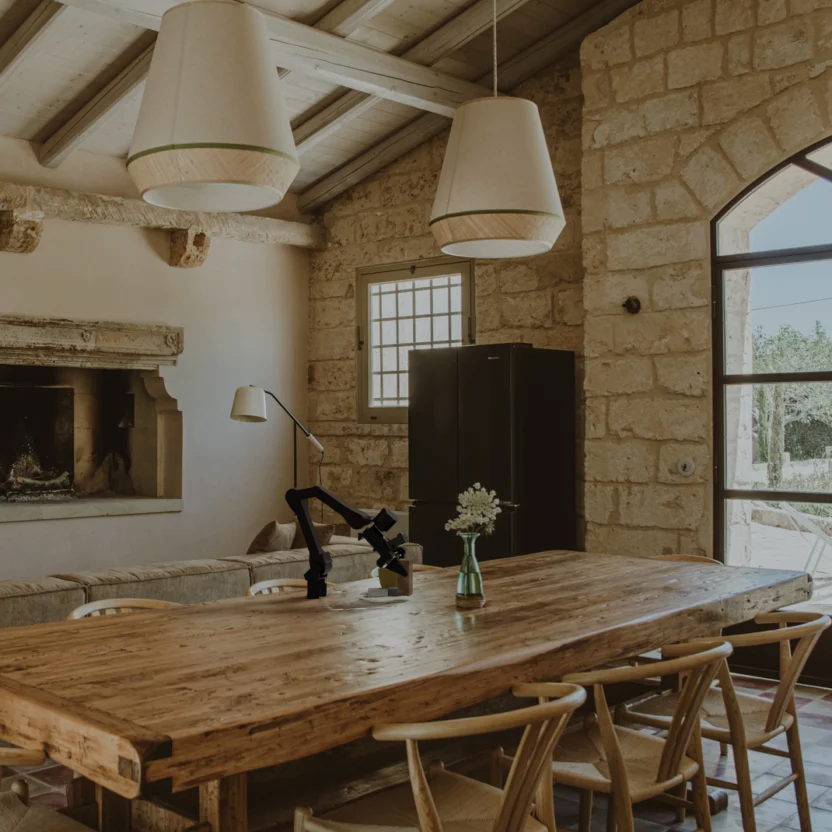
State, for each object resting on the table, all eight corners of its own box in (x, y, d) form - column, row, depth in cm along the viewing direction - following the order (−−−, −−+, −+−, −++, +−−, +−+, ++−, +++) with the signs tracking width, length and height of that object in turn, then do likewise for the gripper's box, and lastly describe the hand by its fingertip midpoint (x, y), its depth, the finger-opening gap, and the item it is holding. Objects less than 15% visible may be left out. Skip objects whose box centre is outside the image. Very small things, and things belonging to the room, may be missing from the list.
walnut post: (397, 595, 340) (397, 560, 340) (401, 593, 344) (400, 558, 344) (409, 596, 339) (409, 560, 339) (412, 594, 343) (412, 559, 343)
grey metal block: (370, 597, 347) (370, 589, 347) (368, 595, 351) (368, 588, 351) (387, 596, 349) (387, 589, 349) (384, 594, 353) (384, 587, 353)
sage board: (370, 603, 337) (370, 602, 337) (367, 596, 353) (367, 594, 353) (411, 603, 339) (411, 601, 339) (407, 595, 354) (407, 593, 354)
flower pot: (396, 595, 354) (396, 570, 354) (377, 593, 359) (377, 568, 359) (411, 592, 361) (411, 567, 361) (392, 590, 366) (392, 565, 366)
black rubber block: (386, 595, 350) (386, 588, 350) (389, 593, 354) (389, 586, 354) (400, 596, 349) (400, 589, 349) (403, 594, 353) (403, 587, 353)
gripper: (385, 527, 334) (417, 562, 330) (402, 522, 352) (432, 555, 348) (363, 550, 336) (394, 585, 333) (380, 544, 354) (410, 577, 351)
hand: (408, 575), depth 341 cm, fingers open, 4 cm apart
